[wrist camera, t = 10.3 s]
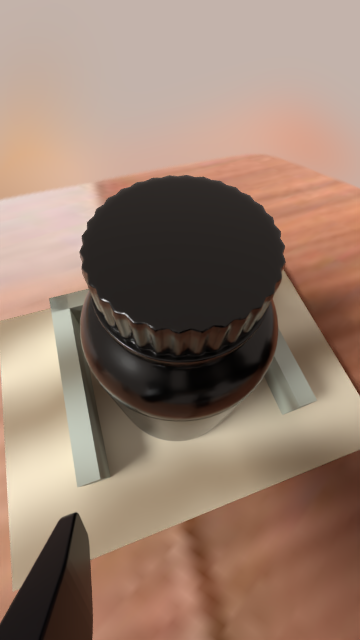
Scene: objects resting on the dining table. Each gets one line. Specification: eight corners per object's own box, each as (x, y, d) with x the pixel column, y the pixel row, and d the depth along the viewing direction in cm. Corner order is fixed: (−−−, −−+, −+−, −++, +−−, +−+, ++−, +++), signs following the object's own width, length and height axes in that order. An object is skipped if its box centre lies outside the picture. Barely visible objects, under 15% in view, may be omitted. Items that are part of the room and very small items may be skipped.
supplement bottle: (232, 334, 19) (319, 160, 8) (231, 448, 16) (371, 411, 5) (128, 324, 19) (76, 137, 8) (106, 435, 16) (-24, 371, 5)
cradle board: (374, 440, 17) (420, 434, 14) (22, 583, 14) (-21, 618, 10) (269, 260, 23) (285, 228, 20) (6, 328, 19) (-25, 301, 16)
